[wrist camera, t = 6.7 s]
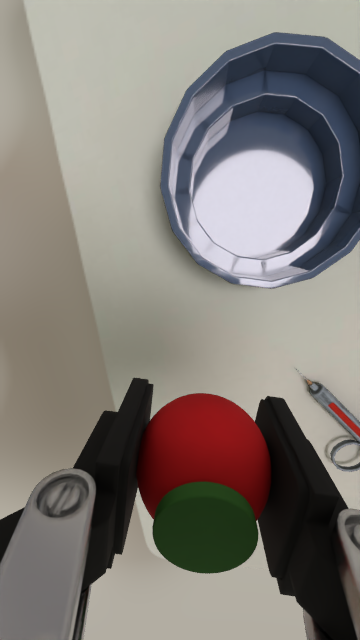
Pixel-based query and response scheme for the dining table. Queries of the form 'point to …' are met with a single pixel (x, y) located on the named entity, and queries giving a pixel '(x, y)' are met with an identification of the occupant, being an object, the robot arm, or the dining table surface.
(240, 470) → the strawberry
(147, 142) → the dining table surface
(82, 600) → the robot arm
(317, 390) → the syringe
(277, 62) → the bowl
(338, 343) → the dining table surface
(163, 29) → the dining table surface
